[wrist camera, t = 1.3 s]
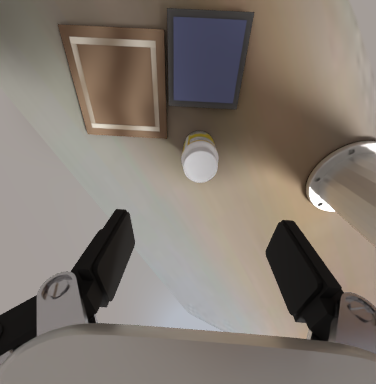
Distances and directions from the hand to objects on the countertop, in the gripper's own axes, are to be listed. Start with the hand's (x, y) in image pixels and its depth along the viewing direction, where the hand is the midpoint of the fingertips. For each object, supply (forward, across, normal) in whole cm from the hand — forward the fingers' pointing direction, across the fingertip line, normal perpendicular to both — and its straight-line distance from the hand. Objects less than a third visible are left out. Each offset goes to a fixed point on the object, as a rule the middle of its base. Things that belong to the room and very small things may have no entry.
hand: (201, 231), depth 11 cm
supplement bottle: (+18, 0, 0) cm, 18 cm away
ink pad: (+18, 0, -10) cm, 21 cm away
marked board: (+18, +11, -7) cm, 22 cm away
